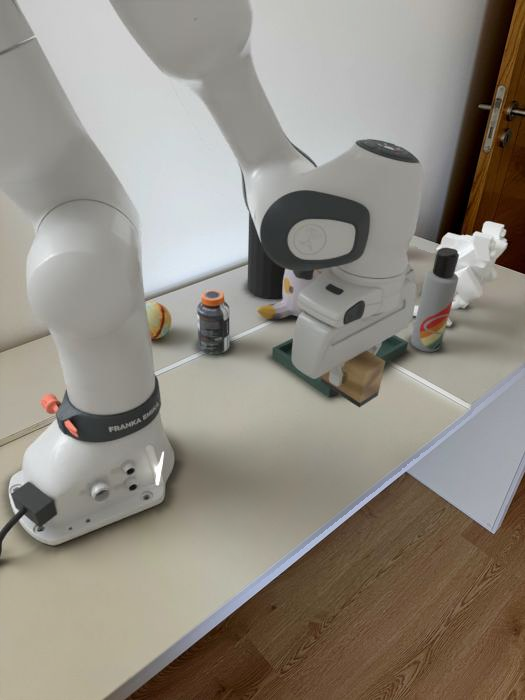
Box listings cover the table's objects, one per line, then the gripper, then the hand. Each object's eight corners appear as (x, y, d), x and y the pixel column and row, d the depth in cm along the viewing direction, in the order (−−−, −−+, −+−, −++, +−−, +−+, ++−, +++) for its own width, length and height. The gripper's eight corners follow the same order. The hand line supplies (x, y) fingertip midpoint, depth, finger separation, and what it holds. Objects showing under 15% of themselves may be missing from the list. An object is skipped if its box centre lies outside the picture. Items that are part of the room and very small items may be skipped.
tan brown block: (359, 407, 71) (365, 372, 68) (320, 382, 75) (324, 347, 72) (378, 395, 73) (385, 361, 70) (339, 371, 77) (344, 337, 74)
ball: (139, 348, 102) (136, 317, 98) (133, 329, 107) (129, 298, 103) (176, 342, 104) (174, 311, 100) (167, 323, 109) (165, 293, 105)
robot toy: (432, 287, 126) (452, 203, 115) (493, 306, 120) (521, 220, 108) (399, 320, 113) (418, 230, 102) (466, 344, 107) (494, 251, 95)
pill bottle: (236, 346, 103) (236, 294, 97) (213, 359, 100) (212, 306, 93) (214, 334, 107) (213, 283, 100) (191, 346, 103) (189, 293, 97)
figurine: (353, 312, 111) (331, 253, 102) (281, 353, 110) (253, 298, 101) (328, 287, 120) (306, 231, 111) (262, 325, 120) (234, 272, 111)
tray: (328, 397, 92) (330, 386, 91) (271, 357, 101) (272, 347, 99) (406, 352, 104) (408, 342, 103) (349, 320, 113) (350, 310, 111)
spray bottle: (440, 354, 104) (467, 259, 92) (410, 350, 104) (433, 255, 93) (439, 338, 108) (463, 245, 97) (410, 334, 109) (431, 242, 98)
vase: (301, 290, 123) (312, 154, 106) (267, 303, 117) (273, 162, 100) (271, 273, 129) (278, 143, 112) (238, 285, 124) (239, 150, 106)
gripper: (396, 252, 73) (379, 338, 81) (287, 298, 61) (279, 393, 69) (436, 269, 69) (414, 357, 77) (328, 321, 57) (315, 419, 65)
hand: (350, 374), depth 73 cm, fingers closed on tan brown block, 4 cm apart
